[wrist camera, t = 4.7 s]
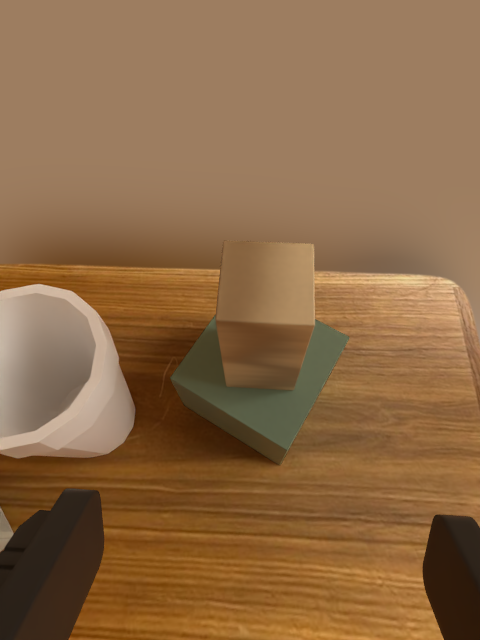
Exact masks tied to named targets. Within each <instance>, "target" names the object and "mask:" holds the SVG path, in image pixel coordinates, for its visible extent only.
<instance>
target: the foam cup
mask: <svg viewBox="0 0 480 640" xmlns="http://www.w3.org/2000/svg"><path fill="white" fill-rule="evenodd" d="M118 362H119V356H118V354H117V351H116V348H115V345H114V342H113V339H112V337H111V334H110V331H109V329H108V327H107V326H106V324H105V323H104V321H103V320H102V319H101V317H100V316H99V314H98V313H97V311H95V310H94V309H93V308H92V307H91V306H89V305H88V304H87V303H86V302H85V301H83V300H82V299H81V298H80V297H79V296H77V295H76V294H75V293H74V292H73V291H69V290H65V289H60V288H56V287H51V286H46V285H42V284H36V285H30V286H25V287H19V288H14V289H8V290H3V291H1V292H0V454H3V455H7V456H10V457H14V458H23V457H28V456H32V455H35V456H57V457H78V458H92V457H96V456H101V455H105V454H109V453H110V452H111V451H113V450H114V449H116V448H117V447H118V446H120V445H121V444H122V443H124V441H125V440H126V438H127V436H128V435H129V433H130V431H131V430H132V428H133V426H134V418H135V411H136V408H135V405H134V403H133V400H132V397H131V394H130V391H129V389H128V386H127V383H126V381H125V378H124V376H123V373H122V371H121V368H120V365H119V363H118Z"/></svg>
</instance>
